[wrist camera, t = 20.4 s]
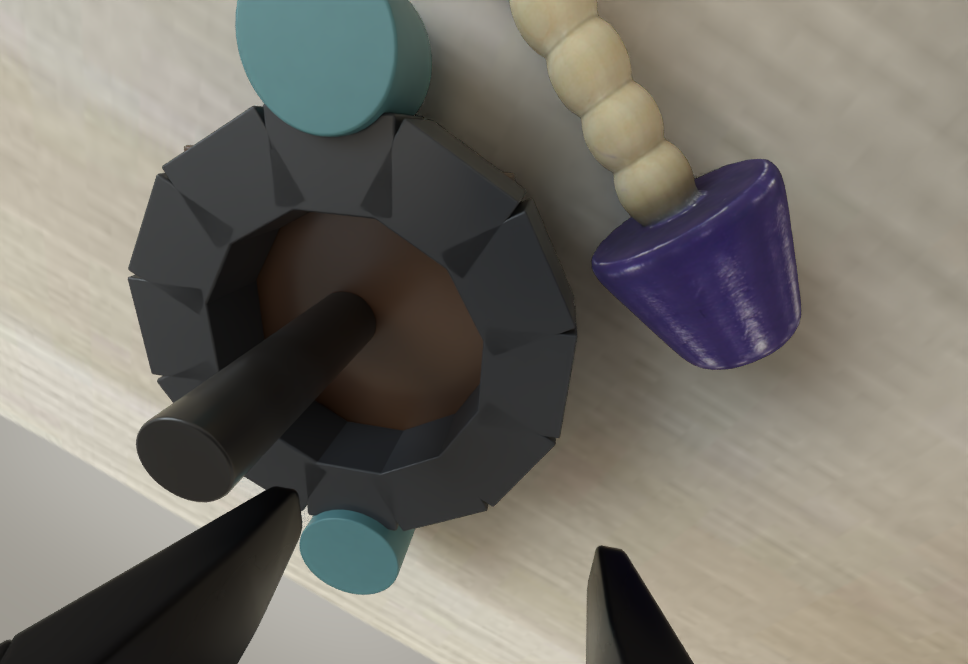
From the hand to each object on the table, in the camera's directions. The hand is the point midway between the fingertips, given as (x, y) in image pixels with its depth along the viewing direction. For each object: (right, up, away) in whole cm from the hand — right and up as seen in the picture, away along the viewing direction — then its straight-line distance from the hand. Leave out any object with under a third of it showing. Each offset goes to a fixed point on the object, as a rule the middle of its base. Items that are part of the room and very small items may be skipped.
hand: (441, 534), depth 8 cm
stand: (-4, +4, +9) cm, 10 cm away
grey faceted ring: (-3, +4, +7) cm, 9 cm away
